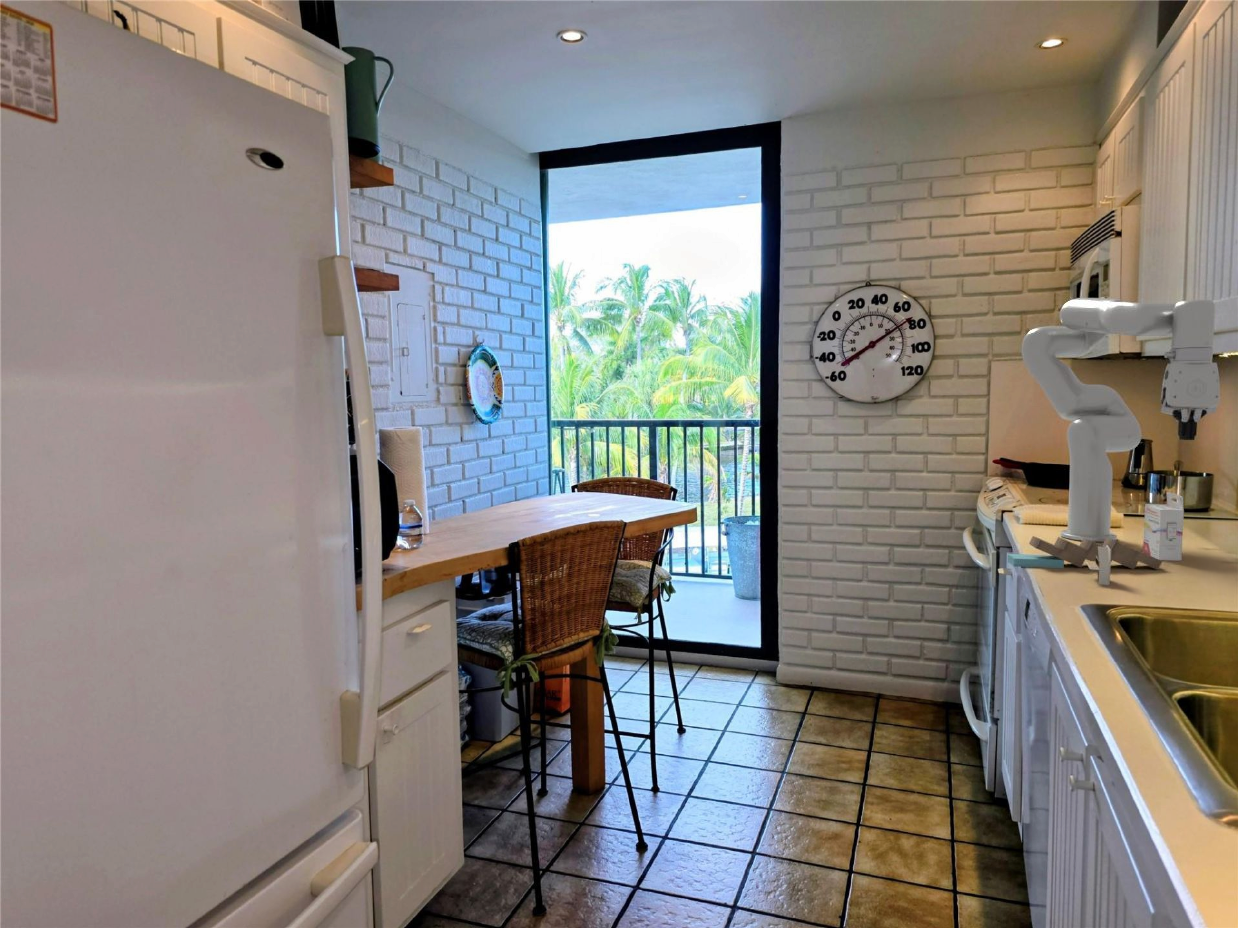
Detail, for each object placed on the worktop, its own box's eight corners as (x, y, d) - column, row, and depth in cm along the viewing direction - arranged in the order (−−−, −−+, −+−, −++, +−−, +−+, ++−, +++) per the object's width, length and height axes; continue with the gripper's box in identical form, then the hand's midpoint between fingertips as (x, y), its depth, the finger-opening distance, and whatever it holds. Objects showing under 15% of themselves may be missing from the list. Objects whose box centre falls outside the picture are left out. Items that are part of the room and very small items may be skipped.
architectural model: (1089, 586, 160) (1091, 549, 160) (1085, 578, 167) (1087, 543, 166) (1109, 587, 159) (1111, 550, 158) (1104, 579, 165) (1106, 544, 164)
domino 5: (1147, 564, 176) (1102, 545, 177) (1151, 556, 176) (1106, 537, 177) (1157, 569, 171) (1111, 549, 172) (1162, 561, 171) (1115, 541, 172)
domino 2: (1072, 562, 178) (1028, 543, 180) (1076, 554, 178) (1032, 535, 179) (1081, 567, 174) (1036, 548, 175) (1085, 559, 173) (1040, 540, 174)
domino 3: (1097, 563, 178) (1054, 544, 179) (1101, 555, 178) (1058, 536, 178) (1107, 568, 173) (1063, 549, 174) (1112, 560, 173) (1067, 541, 173)
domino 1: (1055, 564, 179) (1007, 562, 181) (1056, 555, 179) (1007, 553, 181) (1063, 569, 174) (1013, 567, 176) (1063, 560, 174) (1014, 558, 176)
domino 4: (1123, 564, 177) (1079, 545, 178) (1128, 556, 176) (1083, 537, 178) (1133, 569, 172) (1088, 550, 173) (1138, 561, 172) (1092, 541, 173)
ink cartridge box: (1141, 553, 189) (1144, 490, 188) (1164, 553, 188) (1168, 491, 187) (1157, 560, 181) (1161, 495, 179) (1182, 561, 180) (1186, 496, 178)
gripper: (1162, 356, 175) (1158, 440, 177) (1239, 355, 173) (1233, 440, 174) (1146, 358, 183) (1142, 438, 184) (1219, 357, 180) (1214, 438, 182)
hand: (1186, 439), depth 179 cm, fingers closed
